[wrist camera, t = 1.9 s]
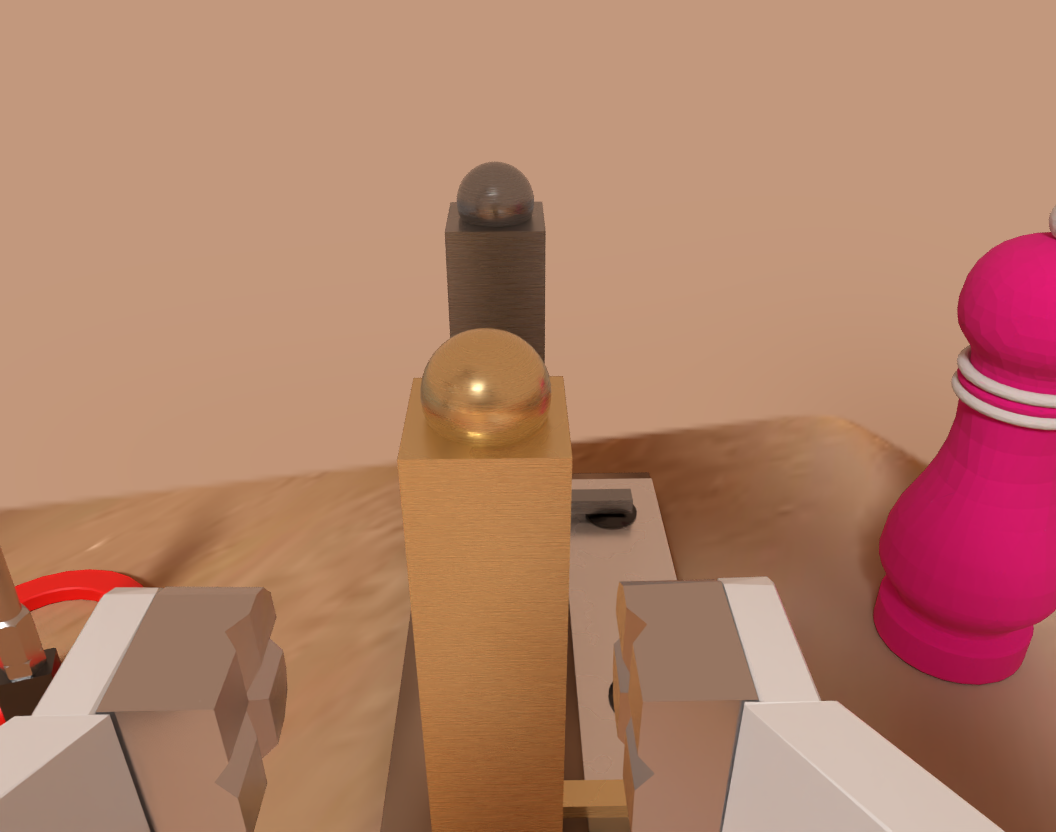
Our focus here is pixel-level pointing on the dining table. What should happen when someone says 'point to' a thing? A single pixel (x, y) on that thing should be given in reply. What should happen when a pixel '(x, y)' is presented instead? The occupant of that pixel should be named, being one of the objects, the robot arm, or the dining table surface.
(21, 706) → the tow hook
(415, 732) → the walnut board
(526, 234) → the fixed leg
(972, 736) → the dining table surface
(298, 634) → the dining table surface
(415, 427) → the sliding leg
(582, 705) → the bolt strip
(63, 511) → the dining table surface
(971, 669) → the pepper mill
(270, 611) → the robot arm
